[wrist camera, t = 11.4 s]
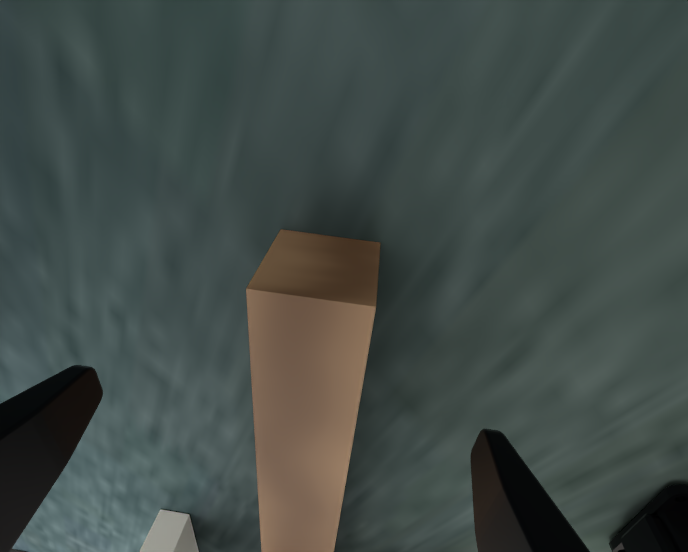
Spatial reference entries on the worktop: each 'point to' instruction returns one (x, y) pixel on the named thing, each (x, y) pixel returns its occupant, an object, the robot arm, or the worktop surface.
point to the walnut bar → (308, 380)
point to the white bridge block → (170, 534)
